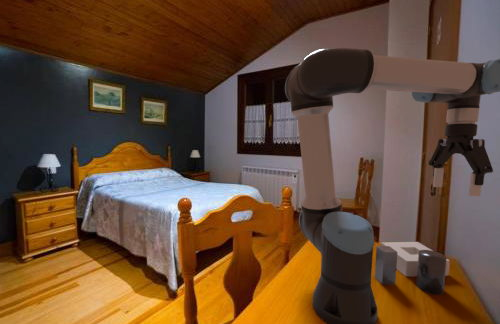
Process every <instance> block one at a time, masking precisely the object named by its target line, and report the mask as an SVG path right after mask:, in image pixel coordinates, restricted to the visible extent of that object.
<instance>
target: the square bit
mask: <svg viewBox="0 0 500 324" xmlns="http://www.w3.org/2000/svg"><path fill="white" fill-rule="evenodd" d="M375 248H376V250H375V251H376V252H375V264H374V265H375V266H374V267H375V268H374V278H375V279H376V280H377V281H378V283H380V284H381V286H382V285H387V286H388V285H396V278H397V269H396V266H397V251H395V250H394V249H392V248H391V247H390V246H381V245H377V246H376V247H375Z"/></svg>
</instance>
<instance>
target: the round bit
mask: <svg viewBox="0 0 500 324" xmlns="http://www.w3.org/2000/svg"><path fill="white" fill-rule="evenodd" d="M431 250H432V249H431ZM431 250H420V251H419V256H418V269H417V276H416V283H415V285H416V287H417V288H418V289H419V290H421V291H423V292H425V293H428V294H431V295H434V296H435V295H436V296H440V295H443V294H444V293H445V282H446V281H445V279H446V276H445V271H446V259H448V258H447V256H445V255H444V254H443V253H440V252H437V251H434V250H432V251H431Z"/></svg>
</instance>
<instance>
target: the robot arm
mask: <svg viewBox="0 0 500 324" xmlns="http://www.w3.org/2000/svg"><path fill="white" fill-rule="evenodd" d="M366 90H371V91H372V90H374V91H376V90H377V91H391V92H392V91H393V92H407V93H408V92H410V93H411V97H412V99H413V100H415V101H416V102H419V103H424V104H428V103H431V104H432V103H434V104H437V103H438V104H447V109H446V119H445V122H446V123H448V124H446V125H445V128H444V129H445V131H444V135H445V136H446V137H447V138H439V139H438V142H437V146H436V148H435V150H434V152H433V154H432V156H431V157H430V159H429V160H430V161H429V162H428V164H429V166H432V168H433V174H432V176H433V181H432V187H433V188H443V183H444V172H445V168H444V165H445V164H446V163H447V162H448V160H449V159H450V158H451V157H452V156H454V155H455V154H457V155H458V154H460V155H462V156H463V157H464V159H465V160H466V162H467V163H468V166H470V168H471V170H472V172H471V173H470V178H469V179H470V180H469V188H468V189H469V190H468V196H469V197H481V192H482V190H481V189H482V186H483V185H484V181H485V175H486V174H491V173H493V172H494V169H493V166H492V163H491V161H490V158H489V155H488V152H487V150H486V147H485V145H486V144H485V143H486V142H485V139H483V138H474V137H476V136H477V134H478V124H477V122H479V114H480V104H481V96H483V95H492V94H495V93H499V92H500V58H498V59H493V60H488V61H485V62H482V63H481V62H479V63H477V62H462V61H448V60H436V59H425V58H413V57H400V56H390V55H389V56H388V55H377V54H374V53H373V51H372V50H371V49H363V48H351V47H350V48H347V47H332V48H331V47H328V48H322V49H317V50H315V51H313V52H311V53H310V54H309V55H307V56H306V57H305V58H304V59H303V60H302V61H301V62H300V63H299V64H297V65H296V66H295V67H294V68H292V69H291V71H290V72H289V74H288V76H287V77H286V80H285V84H284V93H285V96H286V98H287V100H288V101H289V103H290V109H291V114H292V115H294V116H295V117H296V118H297V124H298V134H299V136H298V138H299V144H300V145H299V146H300V155H301V165H302V173H303V174H302V175H303V186H304V195H305V198H303V200H302V201H301V203H300V204H301V211H300V212H299V215H298V224H299V227H300V231H301V232H302V235H303V236H304V237H305V238H306V239H307V240H308V241H309V242H310V243H311V245H313V246H314V247H315V248H316V249H317V251H318V252H319V253H320V255H321V260H320V276H319V278H318V281H317V283H316V286H315V288H314V291H313V293H312V307H313V310H314V312H315V313H316V315H317V316H318V317H319V318H320V319H321V320H322V321H324V322H325V323H326V324H377V322H378V313H379V312H378V311H379V310H378V306H377V305H378V304H377V302H376V299H375V295H374V291H373V289H372V272H373V254H374V247H375V246H374V245H375V239H374V238H375V237H374V229H373V226H372V225H371V223H370V222H369V221H368V220H367V219H365V218H363V217H362V216H360V215H357V214H353V213H351V212H346V211H343V205H342V204H343V203H342V200H341V199H340V198H338V197H337V196H336V190H335V189H336V188H335V178H334V177H335V176H334V175H335V174H334V166H333V165H334V164H333V156H332V155H333V153H332V141H331V129H330V128H331V127H330V118H329V114H330V112H331V111H332V110H333V108H334V96H339V95H344V94H362V93H364V92H365V91H366Z"/></svg>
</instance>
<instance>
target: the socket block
mask: <svg viewBox="0 0 500 324" xmlns="http://www.w3.org/2000/svg"><path fill="white" fill-rule="evenodd" d="M380 246H390V247H391V248H392V249H394V250H395V251H397V266H396V271H399V273H401V274H402V275H403V276H404V277H417V269H418V256H419V251H420V250H431V251H433V250H432V249H431V248H429V247H427V246H425V245H424V244H423V243H420V242H419V241H391V242H386V241H385V242H382V241H381V242H380ZM450 261H451V260H450V259H448V258H447V259H446V271H445V277H446V276H449V273H450Z"/></svg>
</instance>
